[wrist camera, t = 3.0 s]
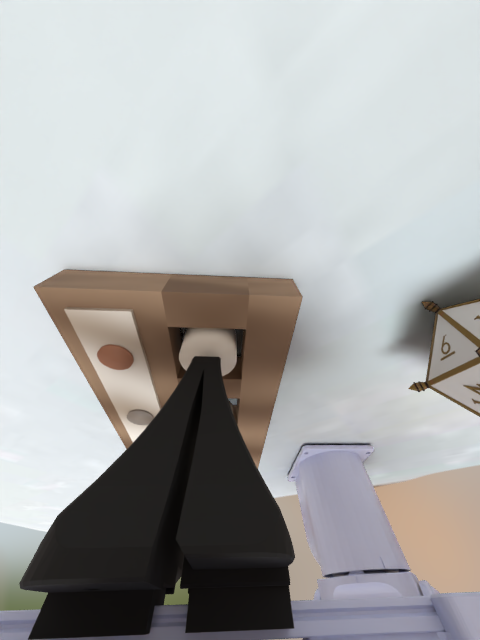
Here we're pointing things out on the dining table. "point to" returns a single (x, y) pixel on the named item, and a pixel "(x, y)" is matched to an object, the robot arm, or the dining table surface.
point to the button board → (172, 339)
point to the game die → (455, 354)
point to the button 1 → (210, 346)
